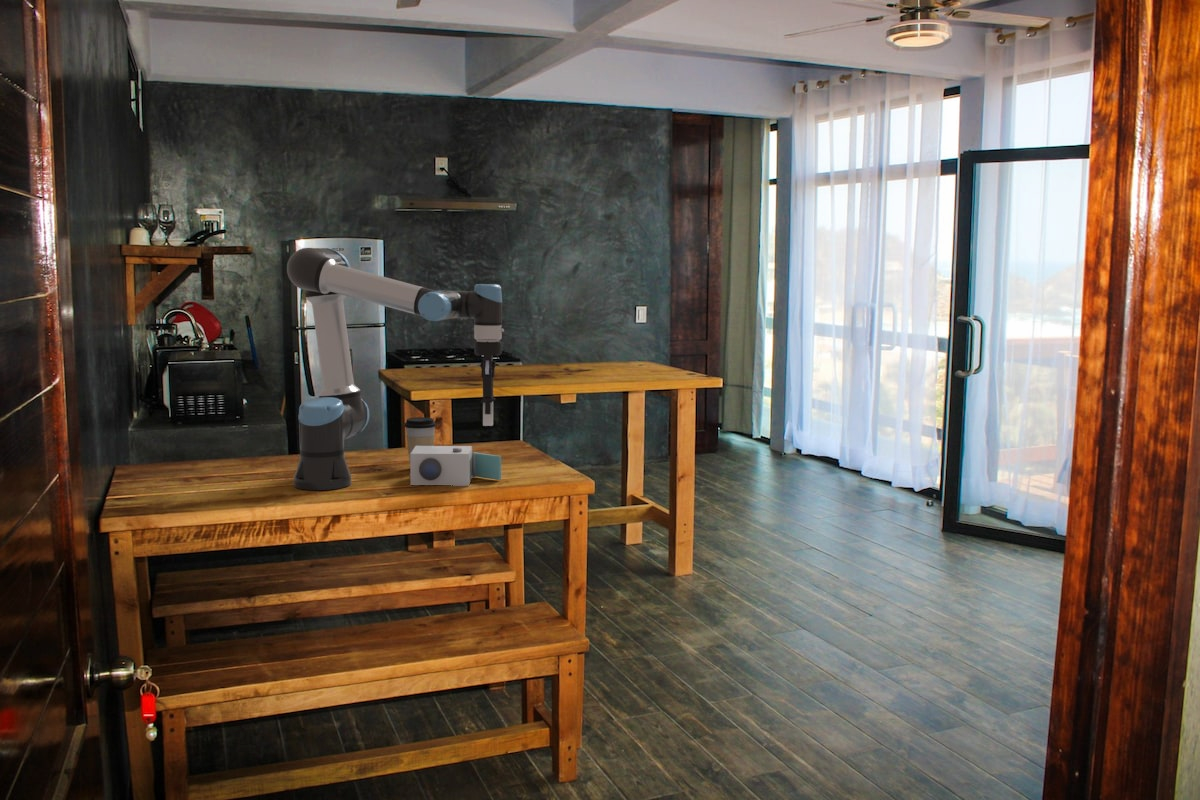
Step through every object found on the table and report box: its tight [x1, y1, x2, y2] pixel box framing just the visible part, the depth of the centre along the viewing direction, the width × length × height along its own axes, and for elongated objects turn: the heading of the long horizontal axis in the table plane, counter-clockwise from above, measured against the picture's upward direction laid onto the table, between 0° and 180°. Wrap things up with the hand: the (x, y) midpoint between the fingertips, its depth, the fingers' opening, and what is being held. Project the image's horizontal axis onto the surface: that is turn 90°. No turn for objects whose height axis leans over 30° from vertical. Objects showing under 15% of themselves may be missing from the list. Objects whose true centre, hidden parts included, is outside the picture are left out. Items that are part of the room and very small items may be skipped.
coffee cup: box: [403, 416, 437, 460], centre depth 293 cm, size 9×9×15 cm
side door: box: [472, 451, 502, 481], centre depth 281 cm, size 10×2×7 cm, turn 59°
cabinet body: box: [409, 445, 473, 487], centre depth 276 cm, size 16×13×10 cm
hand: (488, 424), depth 274 cm, fingers closed
